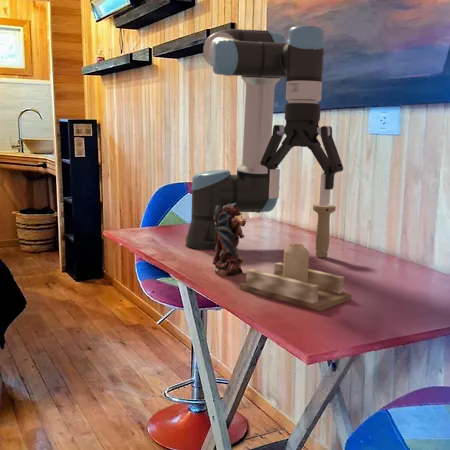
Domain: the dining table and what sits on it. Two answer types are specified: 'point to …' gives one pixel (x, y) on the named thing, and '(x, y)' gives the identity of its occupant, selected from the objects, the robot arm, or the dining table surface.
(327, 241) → the handle
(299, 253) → the candle
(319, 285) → the rack
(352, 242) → the dining table surface
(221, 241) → the figurine
